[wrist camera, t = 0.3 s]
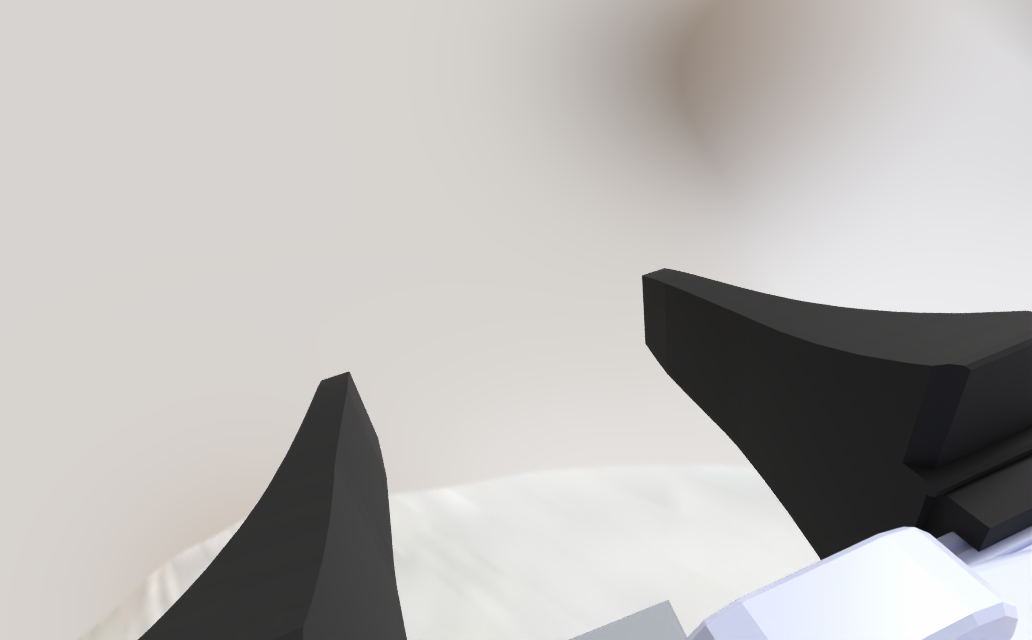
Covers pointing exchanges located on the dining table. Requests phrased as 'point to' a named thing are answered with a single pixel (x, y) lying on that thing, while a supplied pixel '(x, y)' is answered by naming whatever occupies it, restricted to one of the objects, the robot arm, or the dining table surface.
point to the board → (641, 626)
